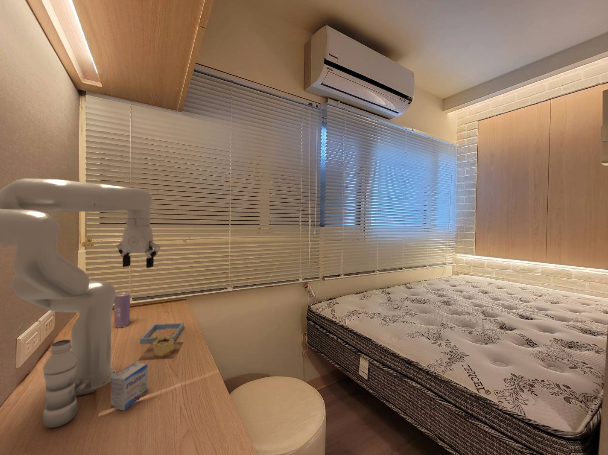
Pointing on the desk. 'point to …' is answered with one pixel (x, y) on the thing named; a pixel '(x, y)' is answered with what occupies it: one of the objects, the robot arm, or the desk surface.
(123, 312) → the beverage can
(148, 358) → the board
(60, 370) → the plastic bottle
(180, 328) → the tray
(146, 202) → the robot arm
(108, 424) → the desk surface
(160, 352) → the ring
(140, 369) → the medicine box
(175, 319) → the desk surface
